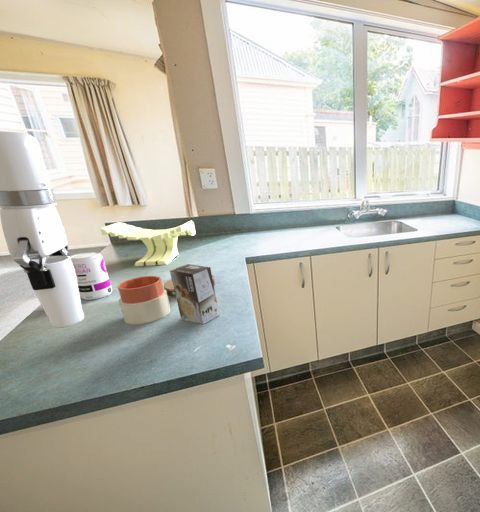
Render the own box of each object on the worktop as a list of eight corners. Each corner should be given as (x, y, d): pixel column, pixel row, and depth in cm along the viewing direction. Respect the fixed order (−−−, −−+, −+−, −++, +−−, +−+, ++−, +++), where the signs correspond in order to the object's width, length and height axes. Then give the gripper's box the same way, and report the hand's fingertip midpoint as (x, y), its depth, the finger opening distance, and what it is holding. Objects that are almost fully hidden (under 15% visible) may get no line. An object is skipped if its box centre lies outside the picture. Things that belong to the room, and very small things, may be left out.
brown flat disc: (223, 286, 113) (222, 278, 113) (177, 301, 101) (176, 293, 100) (202, 277, 122) (200, 270, 121) (157, 290, 109) (155, 282, 108)
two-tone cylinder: (118, 327, 85) (111, 307, 83) (131, 309, 95) (126, 291, 93) (166, 319, 89) (161, 300, 87) (174, 303, 99) (170, 285, 97)
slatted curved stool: (199, 253, 152) (193, 219, 146) (188, 263, 137) (180, 225, 132) (131, 256, 145) (122, 220, 139) (111, 267, 130) (100, 228, 125)
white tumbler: (39, 327, 65) (15, 262, 60) (78, 313, 71) (58, 253, 66) (58, 333, 63) (35, 267, 58) (96, 318, 69) (78, 257, 64)
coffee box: (220, 314, 93) (212, 266, 88) (203, 325, 87) (193, 274, 82) (197, 310, 95) (188, 263, 90) (179, 319, 89) (168, 270, 84)
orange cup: (121, 326, 86) (111, 291, 82) (133, 310, 95) (124, 278, 91) (164, 319, 90) (156, 286, 86) (171, 304, 99) (164, 274, 95)
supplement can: (113, 288, 110) (101, 250, 105) (112, 296, 104) (100, 255, 99) (82, 294, 105) (69, 254, 100) (80, 303, 99) (66, 260, 94)
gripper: (28, 194, 64) (54, 270, 70) (-38, 205, 49) (1, 301, 55) (74, 193, 67) (95, 267, 73) (25, 204, 52) (56, 295, 58)
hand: (54, 281), depth 64 cm, fingers closed on white tumbler, 6 cm apart
